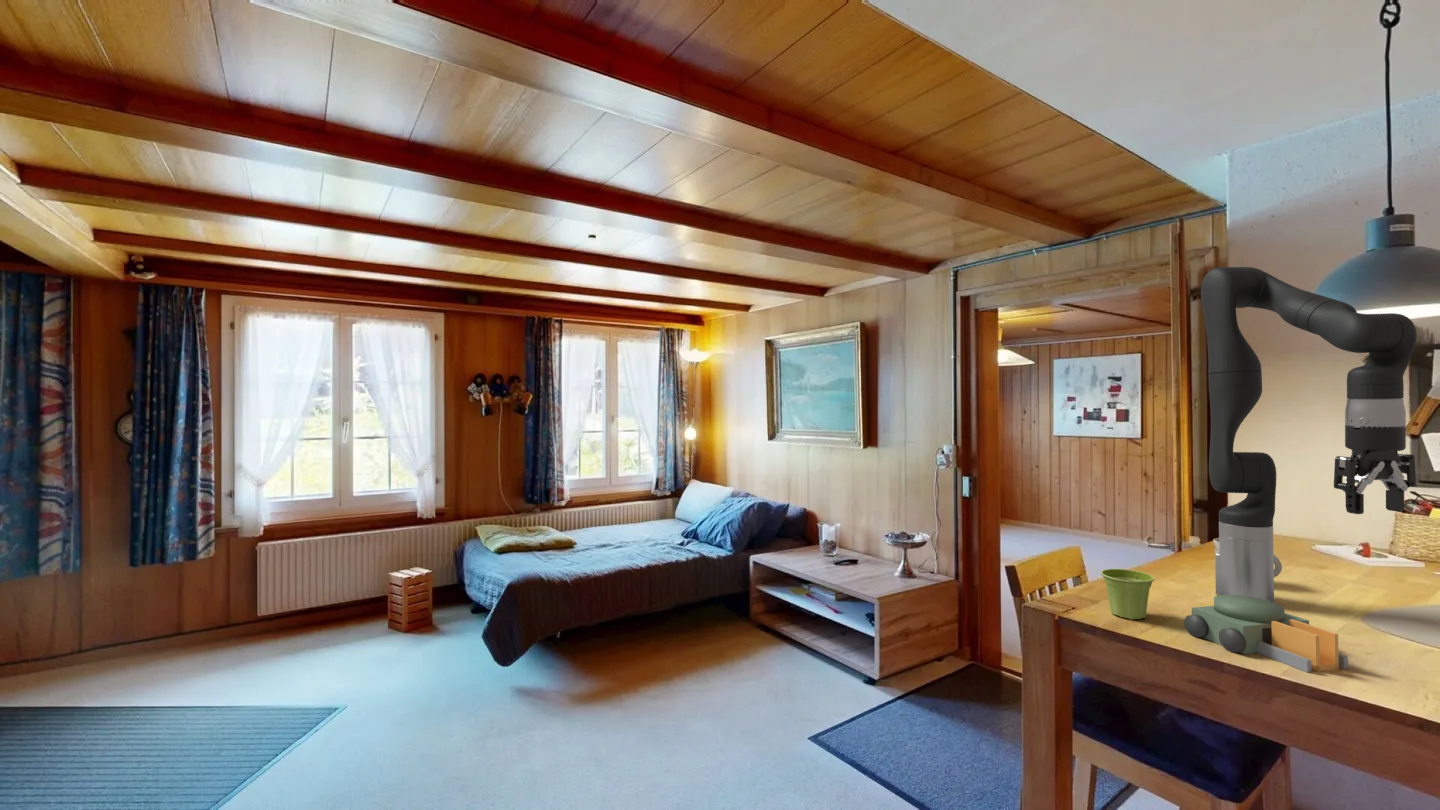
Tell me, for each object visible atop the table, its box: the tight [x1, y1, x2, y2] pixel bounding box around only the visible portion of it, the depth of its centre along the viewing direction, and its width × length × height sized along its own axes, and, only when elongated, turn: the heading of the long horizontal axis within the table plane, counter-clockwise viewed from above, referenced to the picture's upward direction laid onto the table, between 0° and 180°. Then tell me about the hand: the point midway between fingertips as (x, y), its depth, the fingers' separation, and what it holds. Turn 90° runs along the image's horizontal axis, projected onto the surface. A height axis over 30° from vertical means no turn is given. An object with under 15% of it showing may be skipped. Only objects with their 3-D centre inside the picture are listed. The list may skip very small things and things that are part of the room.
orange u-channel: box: [1272, 619, 1340, 672], centre depth 104 cm, size 7×4×6 cm, turn 9°
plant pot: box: [1100, 568, 1155, 620], centre depth 128 cm, size 9×9×9 cm
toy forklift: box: [1183, 594, 1349, 673], centre depth 110 cm, size 18×16×7 cm
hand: (1374, 512), depth 110 cm, fingers open, 8 cm apart
